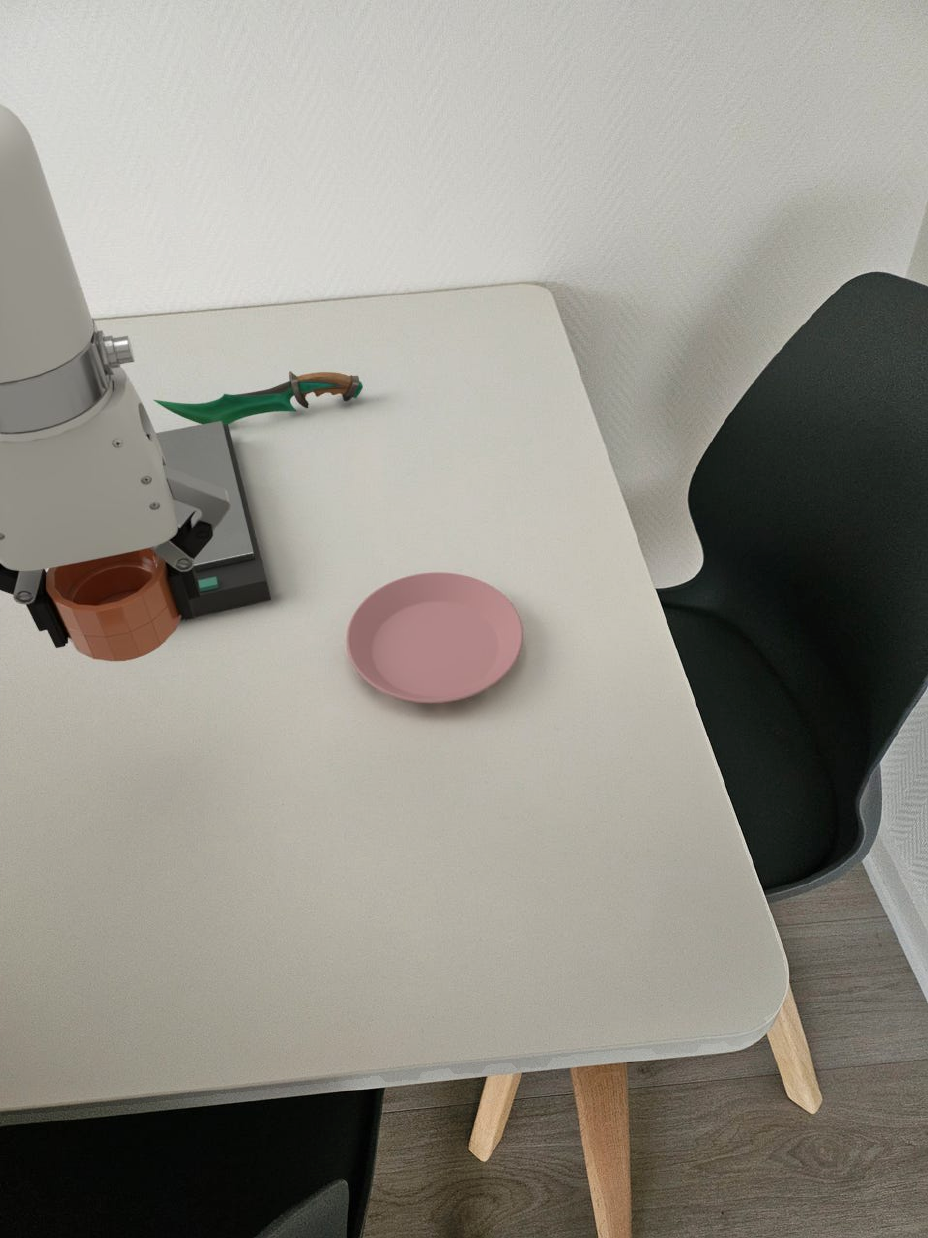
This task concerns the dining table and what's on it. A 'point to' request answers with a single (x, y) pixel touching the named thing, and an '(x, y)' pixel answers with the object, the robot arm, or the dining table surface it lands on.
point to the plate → (434, 637)
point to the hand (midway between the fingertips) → (124, 616)
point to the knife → (268, 398)
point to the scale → (233, 551)
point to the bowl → (115, 604)
